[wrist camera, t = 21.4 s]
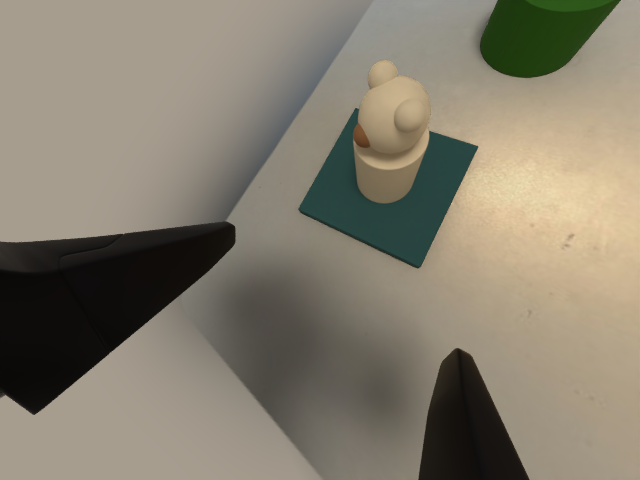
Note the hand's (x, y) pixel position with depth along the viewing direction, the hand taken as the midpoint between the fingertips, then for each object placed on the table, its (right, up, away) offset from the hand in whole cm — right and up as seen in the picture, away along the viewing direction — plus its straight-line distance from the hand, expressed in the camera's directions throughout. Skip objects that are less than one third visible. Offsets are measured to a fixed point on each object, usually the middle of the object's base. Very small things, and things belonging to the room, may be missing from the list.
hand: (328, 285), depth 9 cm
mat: (+6, +7, +14) cm, 17 cm away
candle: (+20, +21, +15) cm, 33 cm away
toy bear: (+6, +7, +13) cm, 16 cm away
